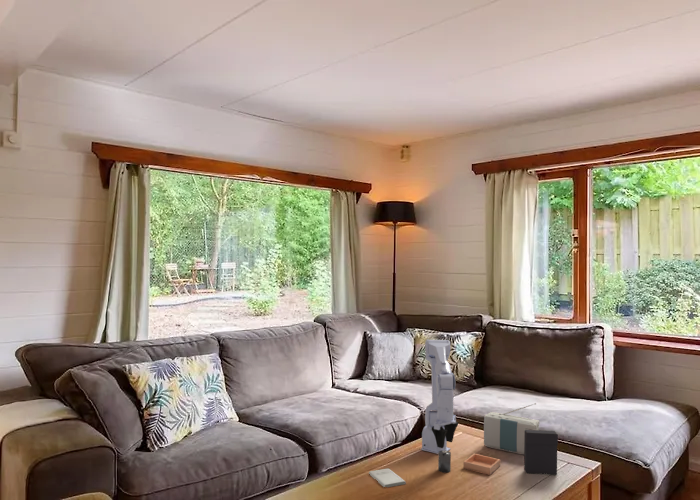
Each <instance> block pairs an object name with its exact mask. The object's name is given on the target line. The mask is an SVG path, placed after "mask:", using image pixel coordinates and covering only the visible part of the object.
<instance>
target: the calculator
mask: <svg viewBox="0 0 700 500" xmlns="http://www.w3.org/2000/svg"><path fill="white" fill-rule="evenodd" d="M558 445H559V434H558V433H557V432H556V431H555V430H540V429H539V430H525V435H524V455H523V457H524V458H523V461H524V462H523V470H524V472H525V474H528V475H547V476H548V475H549V476H557V475H558Z"/></svg>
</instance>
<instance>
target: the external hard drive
mask: <svg viewBox="0 0 700 500" xmlns="http://www.w3.org/2000/svg"><path fill="white" fill-rule="evenodd" d="M369 474H370V475H369ZM368 475H369V476H371V478H372V479H374V480H375V479H376V480H377V481H378V482H377V481H376V480H375V481H376V482H377V483H378V484H379V485H380V486H382V487H383V488H384V487H387V488H391V487H397V486H402V485H407V482H406V480H404V479H403V478H402V477H401V476H399V475H398V474H397V473H395V472H394V471H393V470H391V469H390V468H383V469H382V468H381V469H377V470H370V471H369V472H368Z"/></svg>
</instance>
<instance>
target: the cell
mask: <svg viewBox="0 0 700 500" xmlns="http://www.w3.org/2000/svg"><path fill="white" fill-rule="evenodd" d="M437 456H438V459H437V460H438V461H437V463H438V464H437V465H438V469H437V470H438V472H441V473H442V474H443V473H444V474H447V473H451V469H452V468H451V464H452V461H451V459H452V458H451V457H452V453H451V451H450V450H449V451H447V450H442V451H439V454H438V455H437Z"/></svg>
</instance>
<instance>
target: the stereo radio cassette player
mask: <svg viewBox="0 0 700 500" xmlns="http://www.w3.org/2000/svg"><path fill="white" fill-rule="evenodd" d="M533 405H537V403H536V402H535V403H533V404H530V405H526V406H523V407H519V408H517V409H514V410H510V411H508V412H505V413H502V412H501V413H499V412H495V411H491V412H488V413H487V414H486V415H484V418H483V445H484V446H486V447H487V448H492V449H496V450H500V451H505V452H509V453H515V454H518V455H523V456H524V435H525V430H540V420H539V419H533V418H527V417H522V416H517V415H512V414H511V413H514V412H516V411H519V410H520V411H521V410H523V409H526V408H528V407H531V406H533Z"/></svg>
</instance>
